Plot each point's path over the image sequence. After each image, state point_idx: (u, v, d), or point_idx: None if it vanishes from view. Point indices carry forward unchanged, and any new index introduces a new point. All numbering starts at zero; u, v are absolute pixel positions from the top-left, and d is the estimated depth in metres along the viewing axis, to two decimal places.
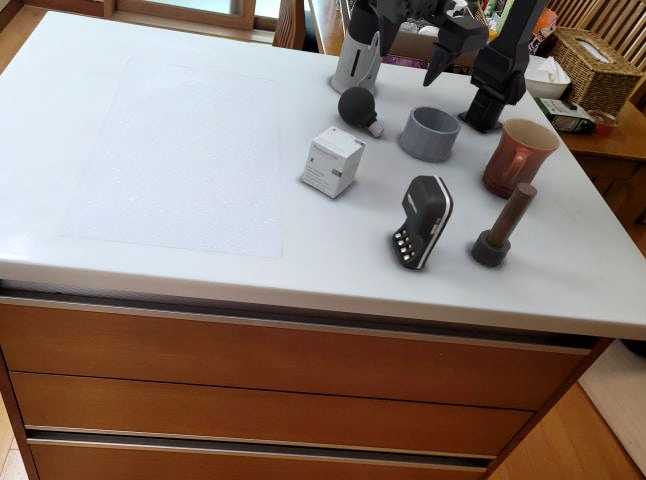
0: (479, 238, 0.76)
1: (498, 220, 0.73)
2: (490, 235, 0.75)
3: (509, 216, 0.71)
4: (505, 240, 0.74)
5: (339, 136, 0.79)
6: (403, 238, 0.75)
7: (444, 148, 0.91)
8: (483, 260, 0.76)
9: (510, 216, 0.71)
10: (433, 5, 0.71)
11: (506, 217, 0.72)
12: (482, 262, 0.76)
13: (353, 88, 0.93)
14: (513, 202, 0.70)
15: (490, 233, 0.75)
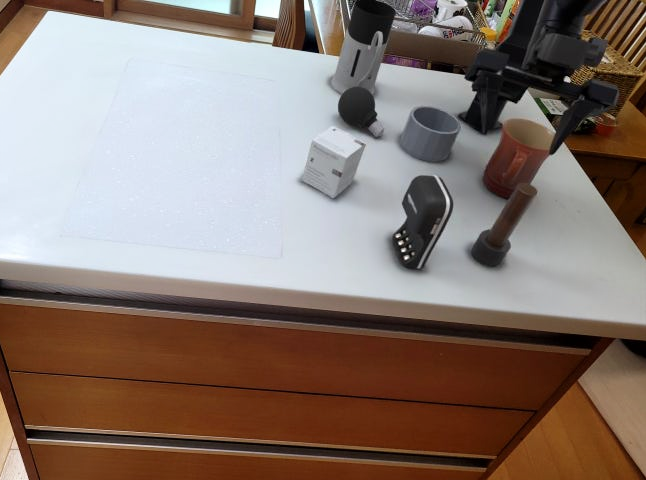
0: (479, 238, 0.76)
1: (498, 220, 0.73)
2: (490, 235, 0.75)
3: (509, 216, 0.71)
4: (505, 240, 0.74)
5: (339, 136, 0.79)
6: (403, 238, 0.75)
7: (444, 148, 0.91)
8: (483, 260, 0.76)
9: (510, 216, 0.71)
10: None
11: (506, 217, 0.72)
12: (482, 262, 0.76)
13: (353, 88, 0.93)
14: (513, 202, 0.70)
15: (490, 233, 0.75)
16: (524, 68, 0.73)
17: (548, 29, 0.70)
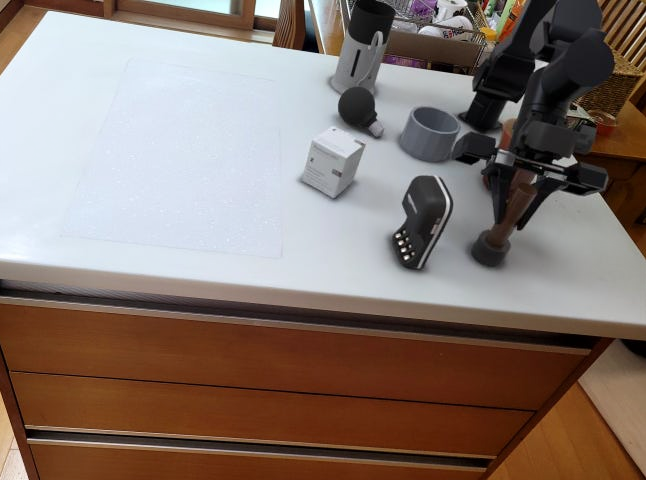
0: (479, 238, 0.76)
1: None
2: (490, 235, 0.75)
3: (509, 216, 0.71)
4: (505, 240, 0.74)
5: (339, 136, 0.79)
6: (403, 238, 0.75)
7: (444, 148, 0.91)
8: (483, 260, 0.76)
9: (510, 216, 0.71)
10: None
11: (506, 217, 0.72)
12: (482, 262, 0.76)
13: (353, 88, 0.93)
14: (513, 202, 0.70)
15: (490, 233, 0.75)
16: (511, 151, 0.71)
17: (534, 113, 0.69)
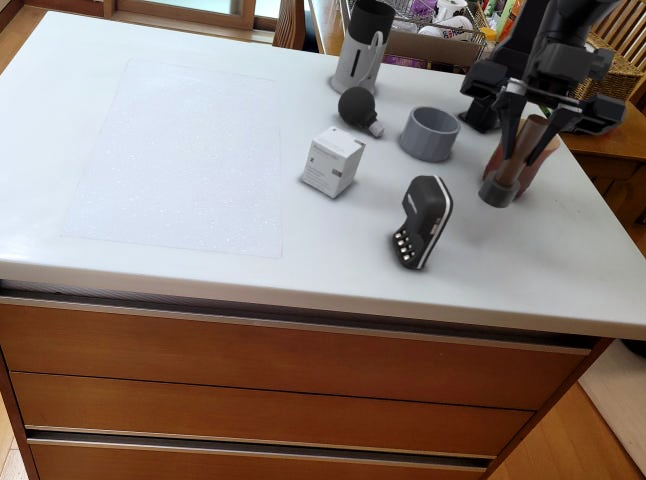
0: (487, 177, 0.72)
1: None
2: (498, 173, 0.71)
3: (519, 150, 0.68)
4: (514, 178, 0.70)
5: (339, 136, 0.79)
6: (403, 238, 0.75)
7: (444, 148, 0.91)
8: (490, 200, 0.72)
9: (519, 150, 0.68)
10: None
11: (515, 151, 0.68)
12: (489, 203, 0.73)
13: (353, 88, 0.93)
14: (523, 135, 0.66)
15: (498, 171, 0.71)
16: (523, 81, 0.68)
17: (550, 40, 0.65)
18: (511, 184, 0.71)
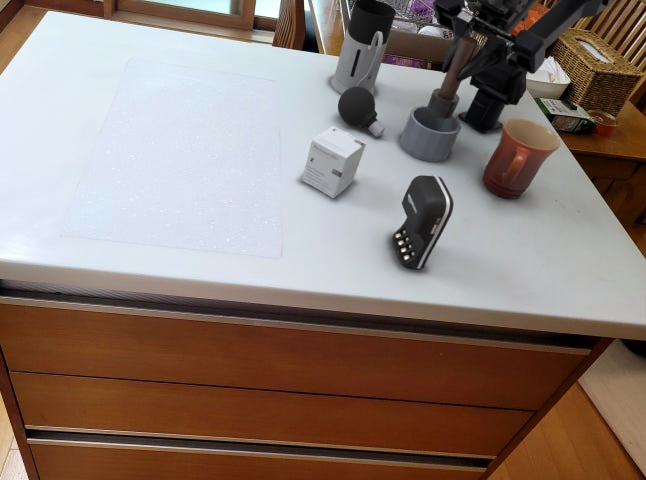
0: (434, 90, 0.89)
1: (447, 71, 0.86)
2: (441, 86, 0.88)
3: (452, 64, 0.84)
4: (449, 91, 0.87)
5: (339, 136, 0.79)
6: (403, 238, 0.75)
7: (444, 148, 0.91)
8: (430, 108, 0.89)
9: (452, 64, 0.84)
10: (512, 17, 0.80)
11: (450, 65, 0.85)
12: (429, 110, 0.89)
13: (353, 88, 0.93)
14: (456, 50, 0.83)
15: None
16: (476, 15, 0.84)
17: None
18: (448, 97, 0.87)
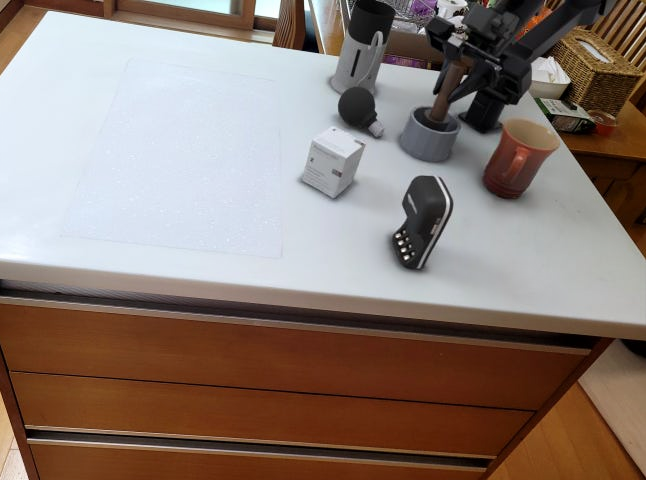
0: (426, 111, 0.92)
1: (438, 93, 0.89)
2: (432, 107, 0.91)
3: (442, 87, 0.87)
4: (440, 113, 0.89)
5: (339, 136, 0.79)
6: (403, 238, 0.75)
7: (444, 148, 0.91)
8: None
9: (442, 87, 0.87)
10: (500, 42, 0.83)
11: (441, 88, 0.87)
12: None
13: (353, 88, 0.93)
14: (446, 74, 0.86)
15: (433, 106, 0.91)
16: None
17: (489, 9, 0.84)
18: (438, 118, 0.90)
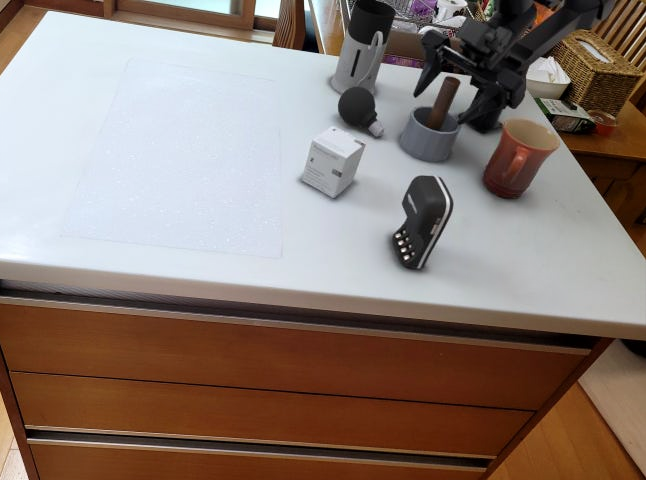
0: None
1: (432, 108, 0.91)
2: (426, 122, 0.93)
3: (436, 102, 0.89)
4: (434, 127, 0.91)
5: (339, 136, 0.79)
6: (403, 238, 0.75)
7: (444, 148, 0.91)
8: None
9: (436, 102, 0.89)
10: (494, 56, 0.85)
11: (435, 103, 0.89)
12: None
13: (353, 88, 0.93)
14: (440, 89, 0.88)
15: None
16: (461, 52, 0.89)
17: (483, 23, 0.86)
18: None
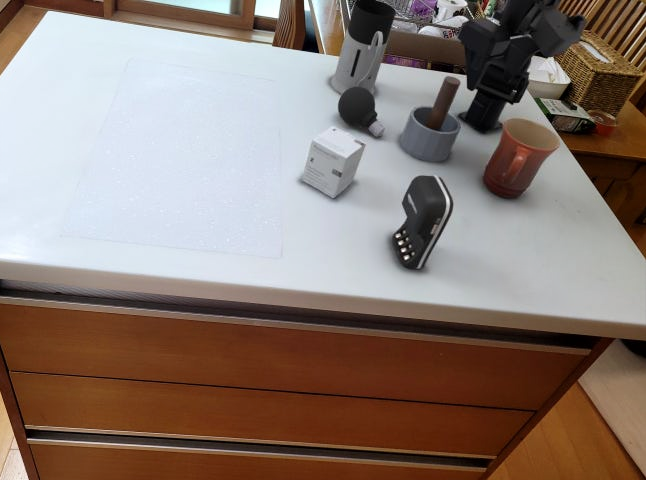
0: None
1: (432, 108, 0.91)
2: (426, 122, 0.93)
3: (436, 102, 0.89)
4: (434, 127, 0.91)
5: (339, 136, 0.79)
6: (403, 238, 0.75)
7: (444, 148, 0.91)
8: None
9: (436, 102, 0.89)
10: None
11: (435, 103, 0.89)
12: None
13: (353, 88, 0.93)
14: (440, 89, 0.88)
15: None
16: (511, 29, 0.78)
17: (543, 1, 0.74)
18: None
